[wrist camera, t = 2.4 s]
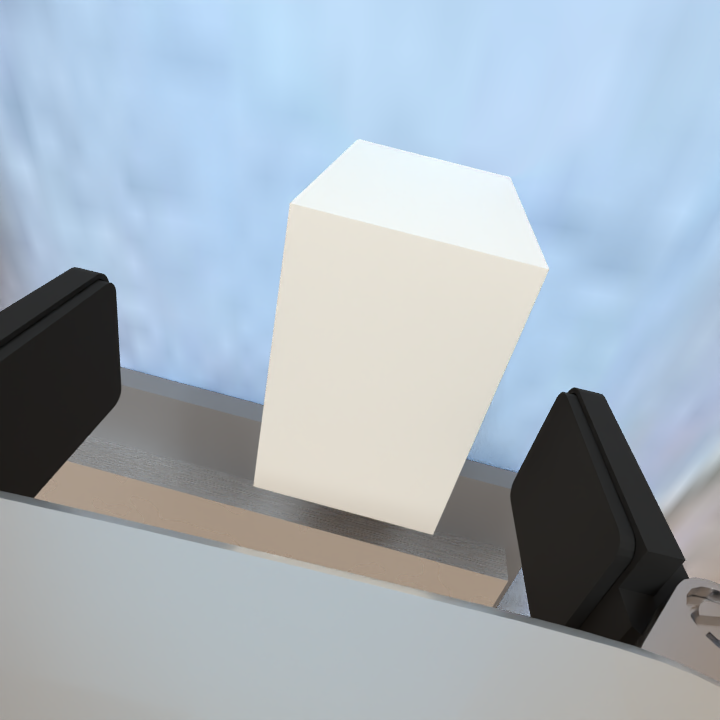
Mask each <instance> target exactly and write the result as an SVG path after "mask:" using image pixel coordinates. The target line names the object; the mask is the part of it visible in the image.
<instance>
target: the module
mask: <svg viewBox="0 0 720 720" xmlns="http://www.w3.org/2000/svg"><path fill="white" fill-rule="evenodd" d="M548 271H549V268H548V266H547V263H546V261H545V258H544V256H543V254H542V251H541V249H540V247H539V244H538V242H537V240H536V237H535V235H534V232H533V230H532V228H531V225H530V223H529V221H528V218H527V216H526V213H525V211H524V209H523V206H522V204H521V202H520V199H519V197H518V194H517V192H516V190H515V187H514V185H513V183H512V180H511V178H510V177H507V176H503V175H499V174H495V173H491V172H487V171H483V170H479V169H476V168H472V167H468V166H464V165H460V164H456V163H452V162H448V161H444V160H440V159H436V158H432V157H428V156H424V155H420V154H416V153H412V152H408V151H404V150H400V149H396V148H392V147H388V146H384V145H380V144H376V143H372V142H368V141H364V140H360V139H357V140H356V141H355V142H354V143H353V144H352V145H351V146H350V147H349V148H348V149H347V150H346V151H345V152H344V153H343V154H342V155H341V156H339V157H338V158H337V159H336V160H335V161H334V162H333V163H332V164H331V165H330V166H329V167H328V168H327V169H326V170H325V171H324V172H323V173H321V174H320V175H319V176H318V177H317V178H316V179H315V180H314V181H313V182H312V183H311V184H310V185H309V186H308V187H307V188H306V189H304V190H303V191H302V192H301V193H300V194H299V195H298V196H297V197H296V198H295V199H294V200H293V201H292V202H291V203H290V207H289V215H288V223H287V230H286V238H285V246H284V253H283V261H282V269H281V277H280V284H279V292H278V300H277V307H276V315H275V323H274V330H273V338H272V346H271V354H270V361H269V369H268V377H267V384H266V392H265V400H264V408H263V415H262V423H261V431H260V438H259V446H258V454H257V461H256V469H255V477H254V485H253V486H254V487H258V488H261V489H265V490H269V491H272V492H276V493H280V494H283V495H287V496H291V497H295V498H298V499H302V500H306V501H309V502H313V503H317V504H320V505H324V506H328V507H332V508H335V509H339V510H343V511H346V512H350V513H354V514H357V515H361V516H365V517H369V518H372V519H376V520H380V521H383V522H387V523H391V524H394V525H398V526H402V527H405V528H409V529H413V530H417V531H420V532H424V533H428V534H431V535H433V534H434V531H435V529H436V527H437V524H438V522H439V520H440V518H441V515H442V513H443V511H444V508H445V506H446V504H447V502H448V499H449V497H450V495H451V492H452V490H453V488H454V486H455V483H456V481H457V479H458V476H459V474H460V472H461V470H462V467H463V465H464V463H465V460H466V458H467V456H468V454H469V451H470V449H471V447H472V444H473V442H474V440H475V438H476V435H477V433H478V431H479V428H480V426H481V424H482V422H483V419H484V417H485V415H486V412H487V410H488V408H489V406H490V403H491V401H492V399H493V396H494V394H495V392H496V390H497V387H498V385H499V383H500V380H501V378H502V376H503V374H504V371H505V369H506V367H507V364H508V362H509V360H510V358H511V355H512V353H513V351H514V348H515V346H516V344H517V342H518V339H519V337H520V335H521V332H522V330H523V328H524V326H525V323H526V321H527V319H528V316H529V314H530V312H531V310H532V307H533V305H534V303H535V300H536V298H537V296H538V294H539V291H540V289H541V287H542V284H543V282H544V280H545V278H546V275H547V273H548Z"/></svg>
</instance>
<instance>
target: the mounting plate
mask: <svg viewBox="0 0 720 720" xmlns="http://www.w3.org/2000/svg"><path fill="white" fill-rule="evenodd" d="M120 371H121V395H120V398H119V400H118V402H117V404H116V405H115V407H114V408H113V409H112V410H111V411H110V412H109V413H108V415H107V416H106V417H105V418H104V419H103V420H102V421H101V422H100V424H99V425H98V426H97V427H96V428H95V429H94V430H93V432H92V433H91V434H90V435H89V437H93V438H97V439H101V440H104V441H108V442H112V443H115V444H119V445H123V446H126V447H130V448H134V449H137V450H141V451H145V452H149V453H152V454H156V455H160V456H163V457H167V458H171V459H174V460H178V461H182V462H185V463H189V464H193V465H196V466H200V467H204V468H208V469H211V470H215V471H219V472H222V473H226V474H230V475H233V476H237V477H241V478H244V479H248V480H252V481H254V477H255V469H256V461H257V454H258V446H259V438H260V431H261V423H262V415H263V408H264V405H261V404H257V403H253V402H250V401H246V400H242V399H238V398H235V397H231V396H227V395H224V394H220V393H216V392H212V391H209V390H205V389H201V388H197V387H194V386H190V385H186V384H182V383H179V382H175V381H171V380H167V379H164V378H160V377H156V376H152V375H149V374H145V373H141V372H137V371H134V370H130V369H126V368H122V367H120ZM517 474H518V473H516V472H512V471H508V470H505V469H501V468H497V467H493V466H490V465H486V464H482V463H478V462H475V461H471V460H467V459H466V460H465V463H464V465H463V467H462V470H461V472H460V474H459V476H458V479H457V481H456V483H455V486H454V488H453V490H452V492H451V495H450V497H449V499H448V502H447V504H446V506H445V508H444V511H443V513H442V515H441V518H440V520H439V522H438V524H437V527H436V529H435V530H436V531H440V532H444V533H447V534H451V535H455V536H458V537H462V538H466V539H470V540H473V541H477V542H481V543H484V544H488V545H492V546H495V547H499V548H503V549H505V554H506V565H507V575H508V582H507V584H506V585H505V587H504V589H503V590H502V592H501V594H500V595H499V597H498V599H497V600H496V602H495V604H494V605H493V608H497V606H498V604H499V603H500V601H501V600H502V598H503V596H504V595H505V593H506V592H507V590H508V588H509V587H510V585H511V583H512V582H513V580H514V579H515V577H516V575H517V574H518V572H519V570H520V569H521V567H522V564H521V558H520V553H519V547H518V541H517V535H516V530H515V524H514V518H513V512H512V507H511V501H510V492H511V487H512V484H513V481H514V479H515V477H516V476H517Z"/></svg>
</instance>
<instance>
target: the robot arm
mask: <svg viewBox="0 0 720 720" xmlns="http://www.w3.org/2000/svg"><path fill="white" fill-rule="evenodd" d="M120 395H121V371H120V353H119V336H118V318H117V301H116V289H115V286H114V285H113V284H112V283H109V281H108V278H107V276H105V275H104V274H102V273H98V272H93V271H89V270H85V269H81V268H76V267H74V268H71V269H69V270H68V271H66V272H64V273H63V274H61V275H59V276H58V277H56V278H55V279H53V280H51V281H50V282H48V283H46V284H45V285H43V286H42V287H40V288H38V289H37V290H35V291H33V292H32V293H30V294H28V295H27V296H25V297H24V298H22V299H20V300H19V301H17V302H15V303H14V304H12V305H11V306H9V307H7V308H6V309H4V310H2V311H1V312H0V720H720V584H717V583H715V582H712V581H710V580H706V579H700V578H690V579H689V577H688V575H687V573H686V571H685V569H684V567H683V565H682V564H683V562H684V561H685V558H684V556H683V554H682V552H681V550H680V548H679V546H678V544H677V542H676V540H675V538H674V536H673V534H672V532H671V530H670V528H669V526H668V524H667V522H666V520H665V518H664V516H663V514H662V512H661V510H660V508H659V506H658V504H657V502H656V500H655V497H654V495H653V493H652V491H651V489H650V487H649V485H648V483H647V481H646V479H645V477H644V475H643V473H642V471H641V469H640V467H639V465H638V463H637V461H636V459H635V457H634V455H633V453H632V451H631V449H630V447H629V445H628V443H627V441H626V439H625V437H624V435H623V433H622V431H621V429H620V427H619V425H618V423H617V421H616V419H615V417H614V415H613V413H612V411H611V409H610V407H609V405H608V403H607V401H606V399H605V397H604V396H603V395H602V394H599V393H595V392H591V391H587V390H583V389H578V388H572V389H571V390H569V391H568V393H565V392H562V393H560V394H559V395H558V397H557V398H556V400H555V402H554V404H553V406H552V408H551V410H550V412H549V414H548V416H547V418H546V420H545V422H544V423H543V425H542V427H541V429H540V431H539V433H538V435H537V437H536V439H535V441H534V443H533V445H532V447H531V449H530V450H529V452H528V454H527V456H526V458H525V460H524V462H523V464H522V466H521V468H520V470H519V472H518V474H517V476H516V477H515V479H514V481H513V484H512V487H511V492H510V501H511V507H512V512H513V518H514V524H515V530H516V535H517V541H518V547H519V553H520V558H521V564H522V570H523V575H524V581H525V587H526V593H527V598H528V604H529V610H530V616H531V617H528V616H524V615H520V614H516V613H512V612H509V611H505V610H501V609H497V608H493V607H489V606H485V605H481V604H477V603H473V602H469V601H464V600H460V599H456V598H452V597H448V596H444V595H440V594H436V593H432V592H427V591H423V590H419V589H415V588H411V587H407V586H403V585H399V584H395V583H391V582H386V581H382V580H378V579H374V578H370V577H366V576H362V575H358V574H354V573H349V572H345V571H341V570H337V569H333V568H328V567H324V566H320V565H316V564H312V563H308V562H303V561H299V560H295V559H291V558H287V557H282V556H278V555H274V554H270V553H266V552H261V551H257V550H253V549H249V548H245V547H240V546H236V545H232V544H228V543H223V542H219V541H215V540H211V539H206V538H202V537H198V536H194V535H190V534H185V533H181V532H177V531H173V530H168V529H164V528H160V527H155V526H151V525H147V524H143V523H138V522H134V521H130V520H125V519H121V518H117V517H112V516H108V515H104V514H99V513H95V512H91V511H86V510H82V509H78V508H73V507H69V506H65V505H61V504H56V503H52V502H48V501H43V500H39V499H35V498H34V497H35V496H36V495H37V494H38V493H39V492H40V491H41V489H42V488H43V487H44V486H45V485H46V484H47V483H48V481H49V480H50V479H51V478H52V477H53V476H54V475H55V474H56V472H57V471H58V470H59V469H60V468H61V467H62V466H63V464H64V463H65V462H66V461H67V460H68V459H69V458H70V457H71V455H72V454H73V453H74V452H75V451H76V450H77V449H78V447H79V446H80V445H81V444H82V443H83V442H84V441H85V439H86V438H87V437H88V436H89V435H90V434H91V433H92V432H93V430H94V429H95V428H96V427H97V426H98V425H99V424H100V422H101V421H102V420H103V419H104V418H105V417H106V416H107V415H108V413H109V412H110V411H111V410H112V409H113V408H114V407H115V405H116V404H117V402H118V400H119V398H120Z"/></svg>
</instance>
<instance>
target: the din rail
mask: <svg viewBox="0 0 720 720" xmlns="http://www.w3.org/2000/svg"><path fill="white" fill-rule="evenodd" d="M253 485H254V481H252V480H248V479H244V478H241V477H237V476H233V475H230V474H226V473H222V472H219V471H215V470H211V469H208V468H204V467H200V466H196V465H193V464H189V463H185V462H182V461H178V460H174V459H171V458H167V457H163V456H160V455H156V454H152V453H149V452H145V451H141V450H137V449H134V448H130V447H126V446H123V445H119V444H115V443H112V442H108V441H104V440H101V439H97V438H93V437H89V436H88V437H87V438H86V439H85V441H84V442H83V443H82V444H81V445H80V446H79V447H78V449H77V450H76V451H75V452H74V453H73V454H72V455H71V457H70V458H69V459H68V460H67V461H66V462H65V463H64V464H63V466H62V467H61V468H60V469H59V470H58V471H57V472H56V474H55V475H54V476H53V477H52V478H51V479H50V480H49V481H48V483H47V484H46V485H45V486H44V487H43V488H42V489H41V491H40V492H39V493H38V494H37V495H36V496H35V497H34V498H35V499H39V500H43V501H48V502H52V503H56V504H61V505H65V506H69V507H73V508H78V509H82V510H86V511H91V512H95V513H99V514H104V515H108V516H112V517H117V518H121V519H125V520H130V521H134V522H138V523H143V524H147V525H151V526H155V527H160V528H164V529H168V530H173V531H177V532H181V533H185V534H190V535H194V536H198V537H202V538H206V539H211V540H215V541H219V542H223V543H228V544H232V545H236V546H240V547H245V548H249V549H253V550H257V551H261V552H266V553H270V554H274V555H278V556H282V557H287V558H291V559H295V560H299V561H303V562H308V563H312V564H316V565H320V566H324V567H328V568H333V569H337V570H341V571H345V572H349V573H354V574H358V575H362V576H366V577H370V578H374V579H378V580H382V581H386V582H391V583H395V584H399V585H403V586H407V587H411V588H415V589H419V590H423V591H427V592H432V593H436V594H440V595H444V596H448V597H452V598H456V599H460V600H464V601H469V602H473V603H477V604H481V605H485V606H489V607H493V605H494V604H495V602H496V600H497V599H498V597H499V595H500V594H501V592H502V590H503V589H504V587H505V585H506V584H507V582H508V575H507V565H506V554H505V549H503V548H499V547H495V546H492V545H488V544H484V543H481V542H477V541H473V540H470V539H466V538H462V537H458V536H455V535H451V534H447V533H444V532H440V531H436V530H435V531H434V534H433V535H431V534H428V533H424V532H420V531H417V530H413V529H409V528H405V527H402V526H398V525H394V524H391V523H387V522H383V521H380V520H376V519H372V518H369V517H365V516H361V515H357V514H354V513H350V512H346V511H343V510H339V509H335V508H332V507H328V506H324V505H320V504H317V503H313V502H309V501H306V500H302V499H298V498H295V497H291V496H287V495H283V494H280V493H276V492H272V491H269V490H265V489H261V488H258V487H254V486H253Z"/></svg>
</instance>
